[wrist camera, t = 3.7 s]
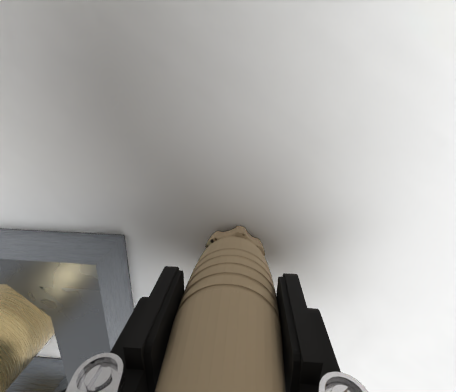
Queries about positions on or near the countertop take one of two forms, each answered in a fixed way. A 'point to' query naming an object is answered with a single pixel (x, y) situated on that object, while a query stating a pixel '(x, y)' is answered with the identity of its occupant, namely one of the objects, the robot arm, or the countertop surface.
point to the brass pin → (20, 334)
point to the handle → (226, 323)
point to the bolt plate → (68, 296)
